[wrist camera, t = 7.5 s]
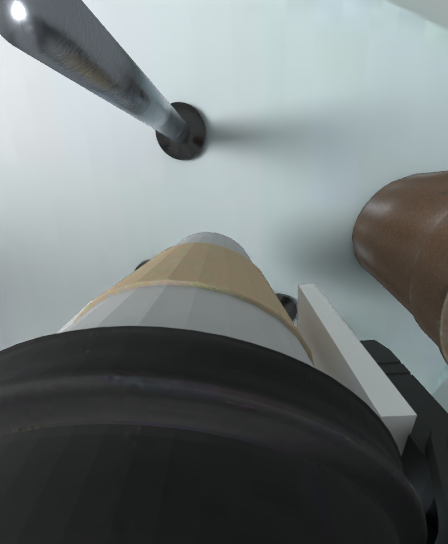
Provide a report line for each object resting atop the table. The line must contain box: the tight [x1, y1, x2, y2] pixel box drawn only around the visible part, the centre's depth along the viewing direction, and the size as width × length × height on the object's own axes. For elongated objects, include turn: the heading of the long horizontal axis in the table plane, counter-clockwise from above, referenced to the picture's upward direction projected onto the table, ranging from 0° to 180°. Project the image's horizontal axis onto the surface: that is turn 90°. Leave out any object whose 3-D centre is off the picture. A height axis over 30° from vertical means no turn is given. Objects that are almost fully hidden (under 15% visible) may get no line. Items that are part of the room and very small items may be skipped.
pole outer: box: [0, 0, 206, 160], centre depth 15 cm, size 5×5×20 cm
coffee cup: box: [0, 232, 427, 544], centre depth 10 cm, size 9×9×15 cm
